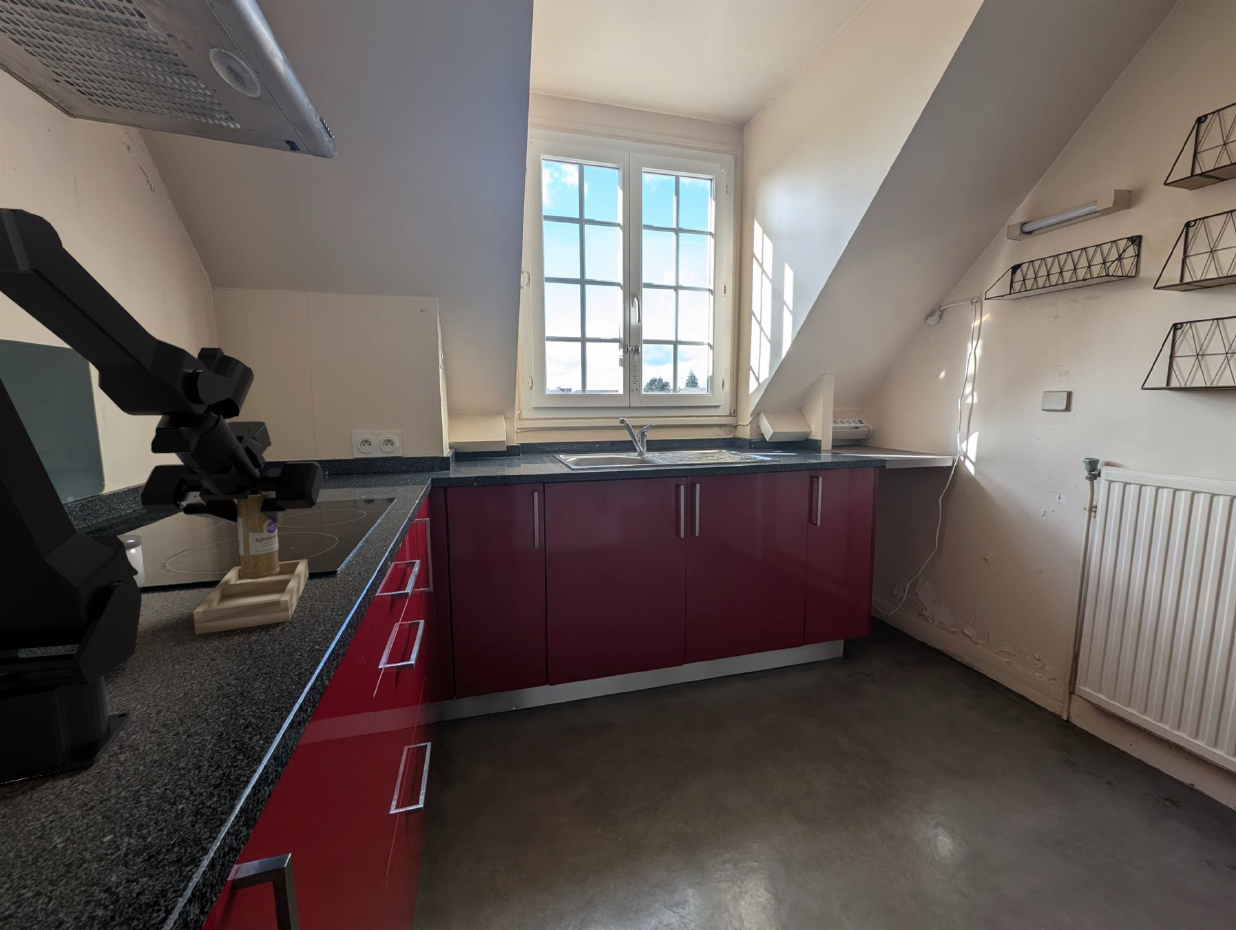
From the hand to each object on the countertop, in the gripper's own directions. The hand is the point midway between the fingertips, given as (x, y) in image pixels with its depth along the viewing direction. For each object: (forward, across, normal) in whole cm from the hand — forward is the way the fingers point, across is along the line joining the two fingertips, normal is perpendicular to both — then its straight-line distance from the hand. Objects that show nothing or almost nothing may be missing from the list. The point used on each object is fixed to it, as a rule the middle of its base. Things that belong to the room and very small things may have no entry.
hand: (262, 521), depth 71 cm
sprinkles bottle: (+4, 0, +6) cm, 7 cm away
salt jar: (+10, +21, +4) cm, 24 cm away
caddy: (+4, -1, +10) cm, 11 cm away
